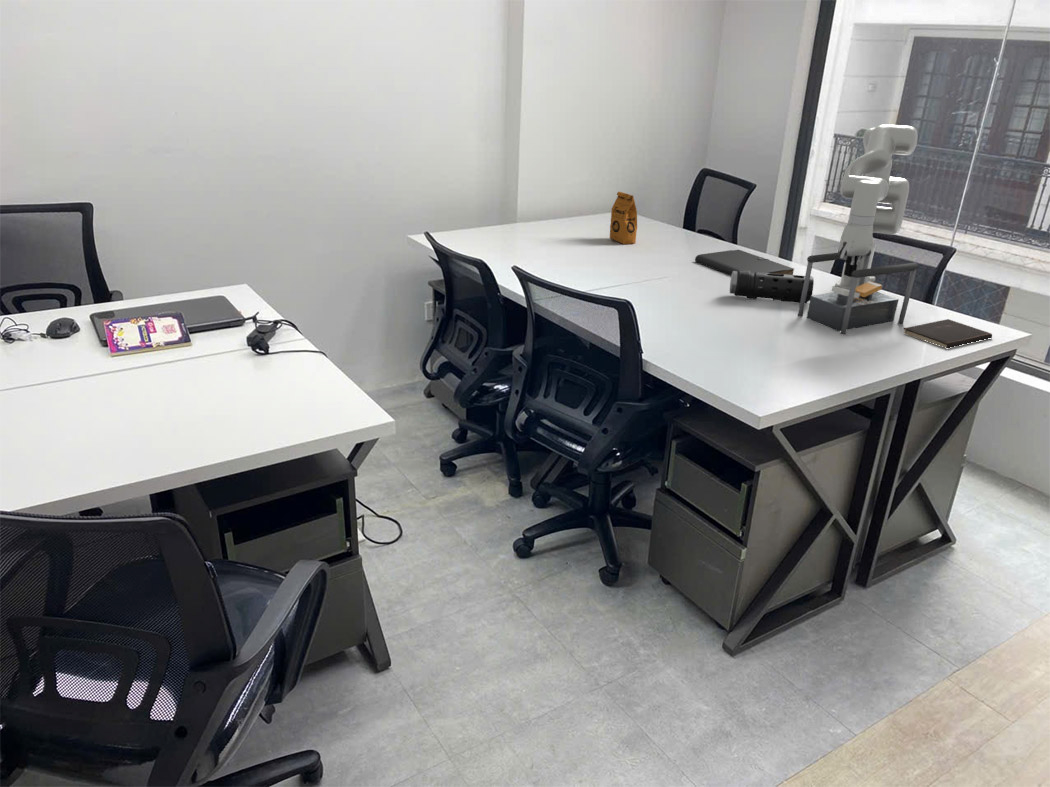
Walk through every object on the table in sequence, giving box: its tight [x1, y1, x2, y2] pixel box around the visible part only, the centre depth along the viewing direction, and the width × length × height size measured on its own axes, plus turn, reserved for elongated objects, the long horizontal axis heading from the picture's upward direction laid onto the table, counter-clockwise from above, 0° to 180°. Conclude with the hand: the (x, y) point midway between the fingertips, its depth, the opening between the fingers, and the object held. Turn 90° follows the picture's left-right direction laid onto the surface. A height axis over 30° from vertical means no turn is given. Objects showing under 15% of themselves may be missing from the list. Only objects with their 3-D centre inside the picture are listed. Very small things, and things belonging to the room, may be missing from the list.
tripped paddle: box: [855, 281, 883, 297], centre depth 262 cm, size 8×5×2 cm, turn 116°
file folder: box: [694, 249, 795, 276], centre depth 320 cm, size 33×4×24 cm
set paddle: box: [830, 286, 860, 298], centre depth 258 cm, size 8×5×2 cm, turn 117°
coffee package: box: [609, 191, 638, 245], centre depth 353 cm, size 10×12×22 cm
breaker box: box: [806, 291, 900, 332], centre depth 262 cm, size 26×14×9 cm, turn 117°
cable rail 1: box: [797, 250, 871, 318], centre depth 267 cm, size 29×2×21 cm, turn 116°
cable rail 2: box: [840, 262, 919, 336], centre depth 252 cm, size 29×2×21 cm, turn 116°
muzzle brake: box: [729, 270, 815, 304], centre depth 280 cm, size 10×28×10 cm, turn 78°
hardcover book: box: [903, 318, 993, 349], centre depth 252 cm, size 16×23×2 cm
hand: (849, 275), depth 255 cm, fingers closed
